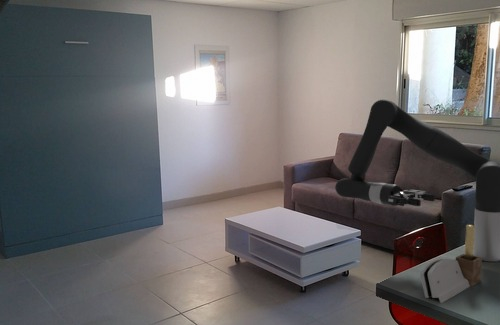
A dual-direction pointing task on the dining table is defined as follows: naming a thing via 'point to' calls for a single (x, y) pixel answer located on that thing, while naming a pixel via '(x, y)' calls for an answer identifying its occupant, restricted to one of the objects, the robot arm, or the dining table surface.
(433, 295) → the hinge
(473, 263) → the pin block
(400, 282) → the dining table surface
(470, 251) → the pin
